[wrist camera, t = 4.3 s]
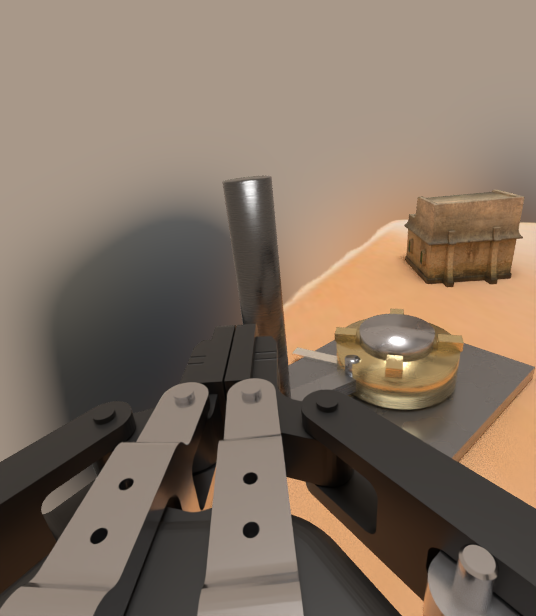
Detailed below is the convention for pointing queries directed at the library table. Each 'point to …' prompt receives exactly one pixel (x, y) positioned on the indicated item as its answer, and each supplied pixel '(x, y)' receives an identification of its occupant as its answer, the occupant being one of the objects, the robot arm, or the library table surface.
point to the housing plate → (450, 412)
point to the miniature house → (464, 237)
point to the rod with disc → (351, 340)
